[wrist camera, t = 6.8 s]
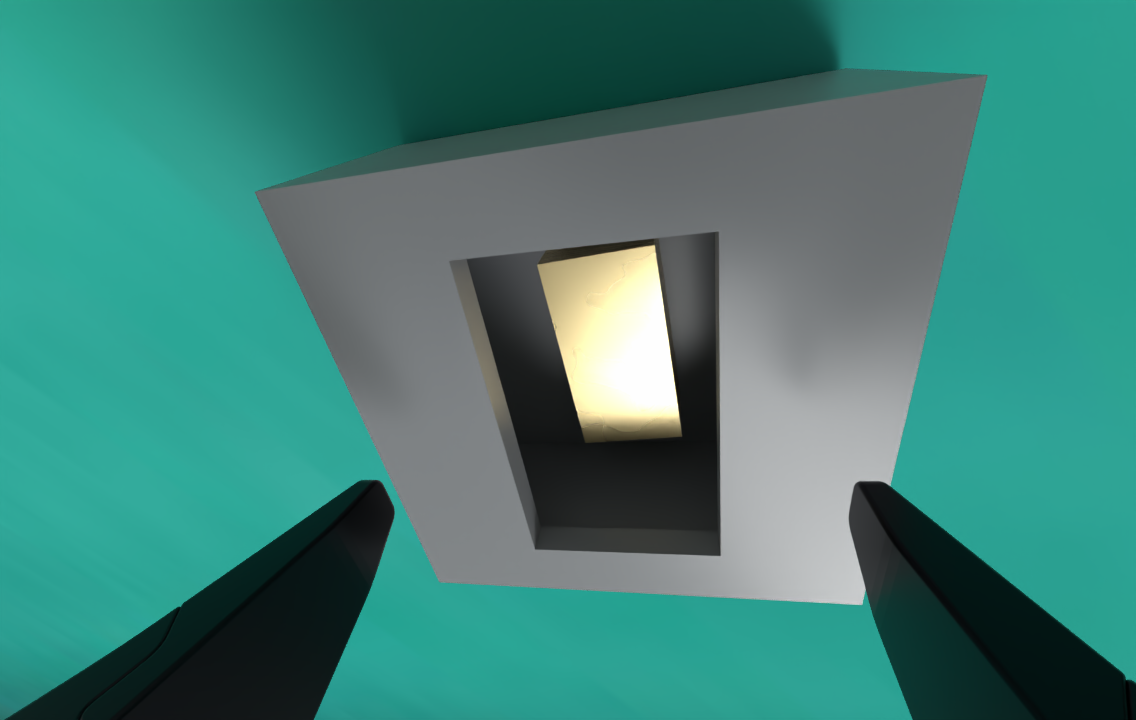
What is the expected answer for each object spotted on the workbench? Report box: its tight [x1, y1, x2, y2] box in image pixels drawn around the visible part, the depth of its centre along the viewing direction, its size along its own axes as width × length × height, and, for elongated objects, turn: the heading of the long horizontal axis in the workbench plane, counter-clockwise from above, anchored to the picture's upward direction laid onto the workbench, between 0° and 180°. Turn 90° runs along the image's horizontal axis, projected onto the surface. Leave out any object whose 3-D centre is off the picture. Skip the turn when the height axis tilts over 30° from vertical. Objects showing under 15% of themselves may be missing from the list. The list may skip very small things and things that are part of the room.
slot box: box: [255, 68, 987, 605], centre depth 13 cm, size 12×12×6 cm
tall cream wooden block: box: [537, 238, 682, 443], centre depth 14 cm, size 3×6×2 cm, turn 13°
